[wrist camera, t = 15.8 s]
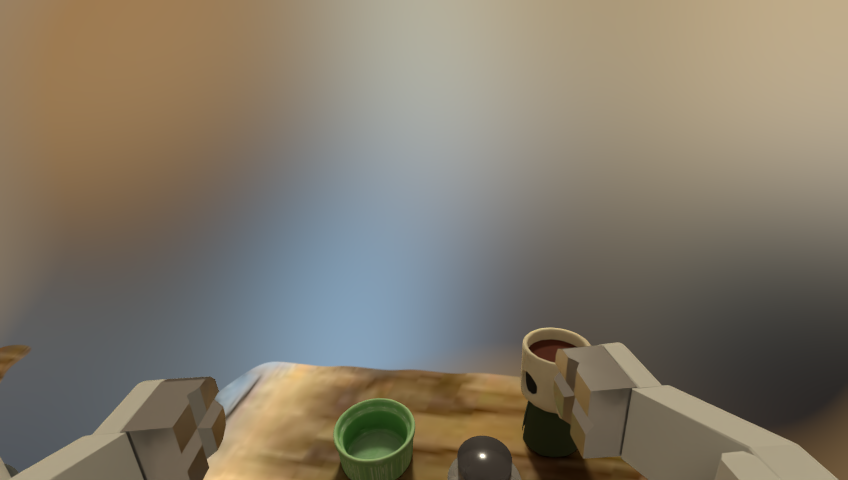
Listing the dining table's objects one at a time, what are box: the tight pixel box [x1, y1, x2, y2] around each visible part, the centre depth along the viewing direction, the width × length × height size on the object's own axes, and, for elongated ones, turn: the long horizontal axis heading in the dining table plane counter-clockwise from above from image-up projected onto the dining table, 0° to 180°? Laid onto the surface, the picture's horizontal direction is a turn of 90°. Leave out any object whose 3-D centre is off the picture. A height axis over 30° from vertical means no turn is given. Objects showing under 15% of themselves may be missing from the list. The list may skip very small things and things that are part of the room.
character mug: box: [521, 328, 591, 457], centre depth 45 cm, size 11×7×13 cm, turn 172°
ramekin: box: [333, 398, 415, 480], centre depth 45 cm, size 9×9×4 cm
